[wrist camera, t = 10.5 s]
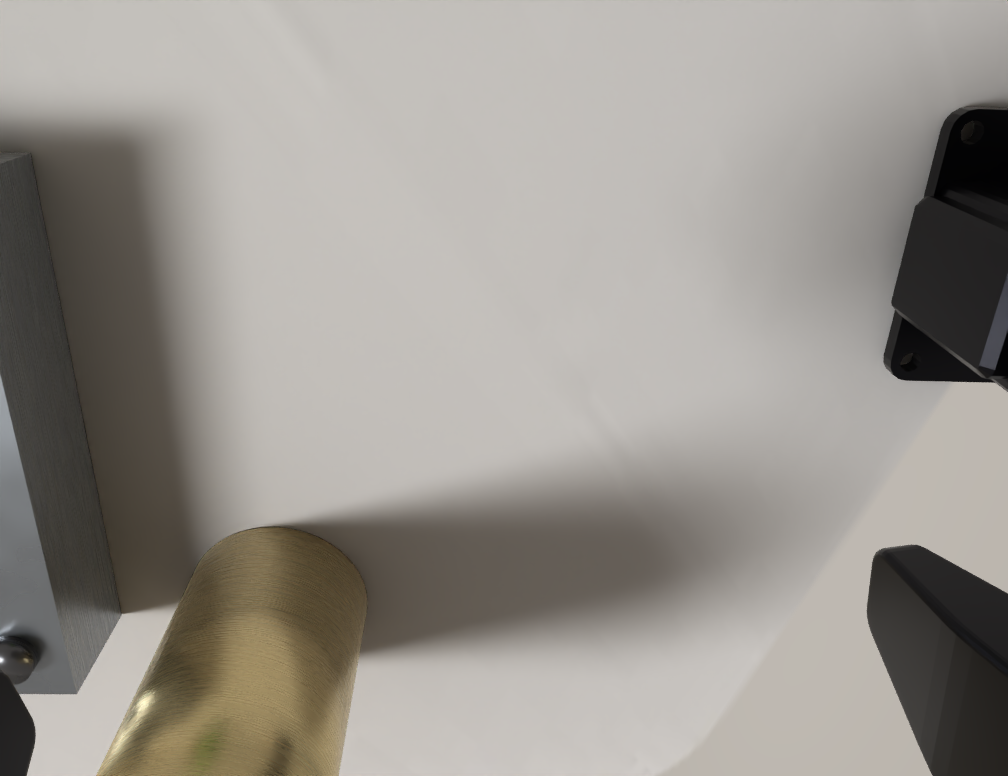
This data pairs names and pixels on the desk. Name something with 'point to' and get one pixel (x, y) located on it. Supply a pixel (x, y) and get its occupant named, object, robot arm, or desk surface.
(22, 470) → the housing
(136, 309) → the desk surface
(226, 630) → the cylinder
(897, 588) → the robot arm
